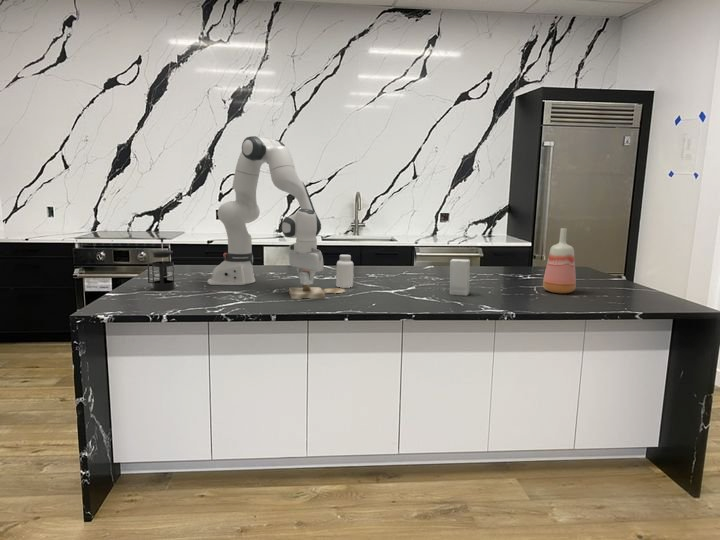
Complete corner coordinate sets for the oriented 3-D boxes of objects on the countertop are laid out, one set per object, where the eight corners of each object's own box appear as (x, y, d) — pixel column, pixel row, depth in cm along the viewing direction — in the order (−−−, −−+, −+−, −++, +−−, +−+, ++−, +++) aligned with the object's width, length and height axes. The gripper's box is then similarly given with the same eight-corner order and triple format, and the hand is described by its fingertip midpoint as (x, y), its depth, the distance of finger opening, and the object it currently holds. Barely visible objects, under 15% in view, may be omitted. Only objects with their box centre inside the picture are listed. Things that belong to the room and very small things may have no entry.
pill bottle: (351, 288, 254) (351, 256, 252) (334, 287, 256) (334, 255, 253) (354, 285, 262) (355, 254, 260) (338, 284, 263) (338, 253, 261)
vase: (561, 288, 265) (566, 226, 260) (582, 294, 252) (587, 229, 247) (535, 289, 260) (540, 227, 256) (555, 295, 247) (560, 229, 242)
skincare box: (469, 293, 248) (471, 259, 246) (467, 296, 242) (469, 261, 240) (450, 292, 251) (452, 258, 249) (448, 294, 245) (449, 260, 242)
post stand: (291, 298, 230) (291, 277, 229) (288, 292, 244) (288, 272, 242) (324, 298, 233) (324, 277, 232) (320, 291, 246) (320, 271, 245)
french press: (177, 286, 251) (176, 236, 248) (174, 290, 242) (173, 238, 238) (150, 287, 249) (148, 236, 245) (146, 291, 240) (144, 239, 236)
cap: (297, 283, 237) (297, 270, 237) (307, 281, 242) (307, 269, 241) (306, 285, 234) (306, 272, 233) (315, 283, 238) (315, 270, 237)
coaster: (324, 294, 241) (324, 292, 241) (321, 289, 251) (321, 288, 250) (346, 293, 243) (346, 292, 243) (342, 289, 253) (342, 287, 253)
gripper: (327, 249, 229) (326, 282, 232) (298, 244, 244) (298, 275, 247) (315, 250, 225) (315, 283, 227) (286, 245, 240) (286, 276, 242)
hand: (306, 279), depth 237 cm, fingers closed on cap, 6 cm apart
